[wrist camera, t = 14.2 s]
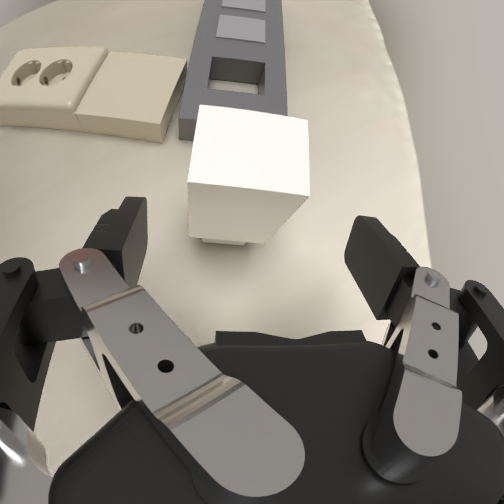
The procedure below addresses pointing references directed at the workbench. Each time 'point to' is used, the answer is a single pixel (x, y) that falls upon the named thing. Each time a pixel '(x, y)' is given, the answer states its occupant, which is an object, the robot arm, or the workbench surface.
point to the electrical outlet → (92, 91)
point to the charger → (245, 174)
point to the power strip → (236, 59)
